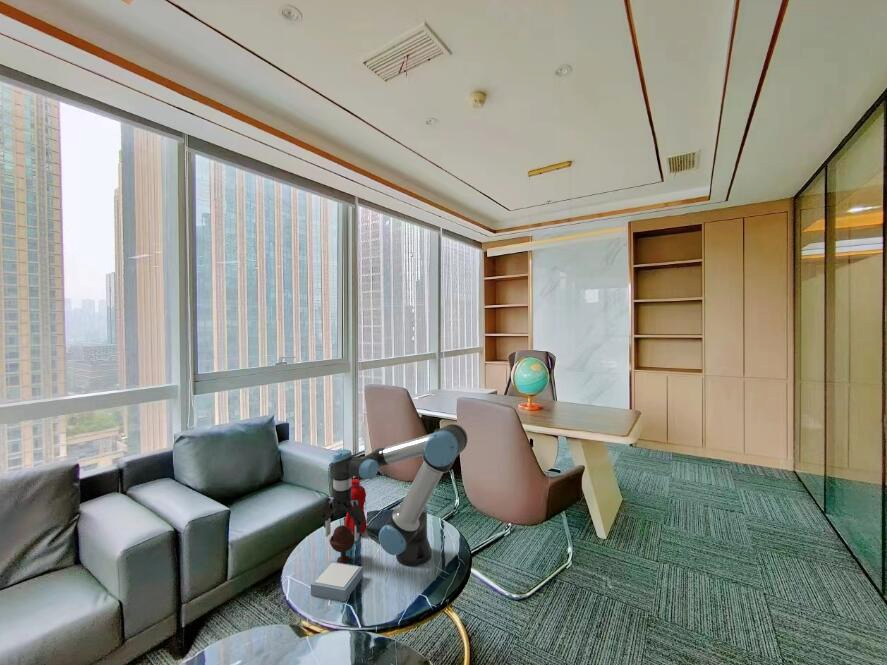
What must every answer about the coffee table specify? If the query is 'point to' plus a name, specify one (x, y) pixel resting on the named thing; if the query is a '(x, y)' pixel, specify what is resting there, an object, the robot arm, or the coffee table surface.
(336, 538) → the ice cream bowl
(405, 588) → the coffee table surface
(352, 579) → the base plinth
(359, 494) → the water bottle
